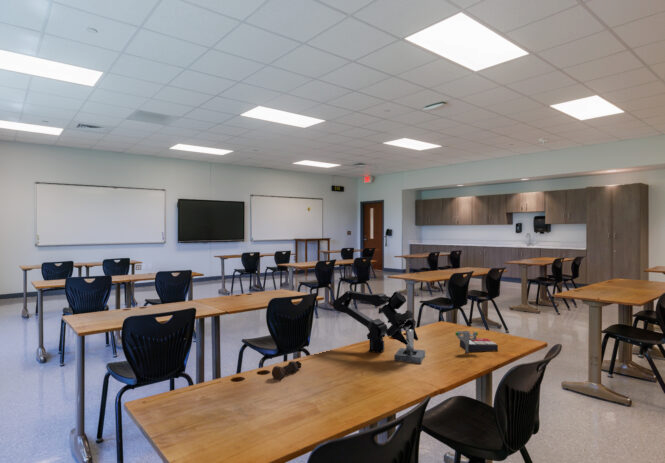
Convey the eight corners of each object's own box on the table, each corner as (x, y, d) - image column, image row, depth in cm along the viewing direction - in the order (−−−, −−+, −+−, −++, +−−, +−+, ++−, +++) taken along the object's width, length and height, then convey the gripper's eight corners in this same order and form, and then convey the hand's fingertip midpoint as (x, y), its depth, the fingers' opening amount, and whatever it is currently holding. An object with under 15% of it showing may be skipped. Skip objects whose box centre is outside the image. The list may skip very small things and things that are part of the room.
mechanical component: (478, 353, 190) (478, 332, 190) (457, 353, 190) (456, 332, 190) (476, 351, 193) (475, 330, 193) (455, 351, 193) (454, 331, 193)
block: (394, 360, 181) (394, 355, 181) (400, 352, 192) (400, 347, 192) (420, 363, 176) (420, 357, 176) (425, 355, 187) (425, 350, 187)
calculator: (498, 343, 194) (468, 343, 193) (497, 352, 194) (468, 352, 193) (487, 337, 205) (459, 337, 204) (487, 346, 205) (459, 345, 204)
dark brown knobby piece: (300, 373, 171) (277, 383, 159) (292, 365, 174) (269, 375, 161) (305, 362, 170) (283, 372, 157) (297, 355, 172) (275, 364, 160)
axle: (405, 358, 183) (405, 330, 183) (407, 356, 186) (406, 329, 186) (413, 359, 182) (412, 331, 182) (414, 357, 185) (414, 329, 185)
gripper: (391, 307, 180) (412, 336, 172) (412, 302, 194) (433, 328, 186) (377, 322, 185) (397, 350, 178) (399, 316, 199) (418, 341, 192)
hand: (412, 342), depth 183 cm, fingers open, 9 cm apart
